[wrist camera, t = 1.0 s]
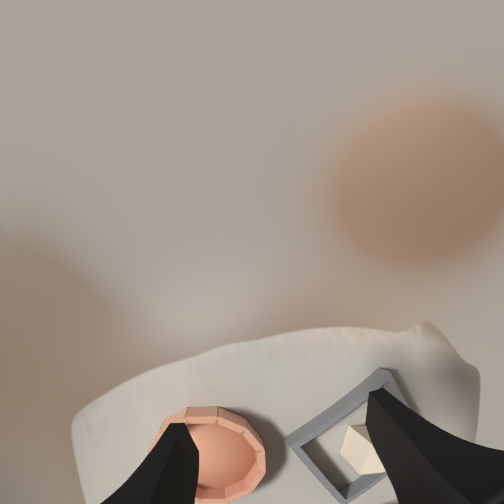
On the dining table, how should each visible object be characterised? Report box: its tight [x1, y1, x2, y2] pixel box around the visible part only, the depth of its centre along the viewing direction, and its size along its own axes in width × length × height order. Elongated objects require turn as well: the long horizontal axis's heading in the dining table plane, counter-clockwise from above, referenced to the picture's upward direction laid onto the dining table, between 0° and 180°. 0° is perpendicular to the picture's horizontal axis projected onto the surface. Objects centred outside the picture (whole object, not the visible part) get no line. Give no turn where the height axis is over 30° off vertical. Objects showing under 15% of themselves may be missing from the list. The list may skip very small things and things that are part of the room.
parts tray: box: [285, 368, 409, 504], centre depth 27 cm, size 14×14×2 cm
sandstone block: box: [340, 426, 386, 475], centre depth 25 cm, size 4×4×6 cm
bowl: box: [149, 407, 266, 504], centre depth 25 cm, size 12×12×3 cm
